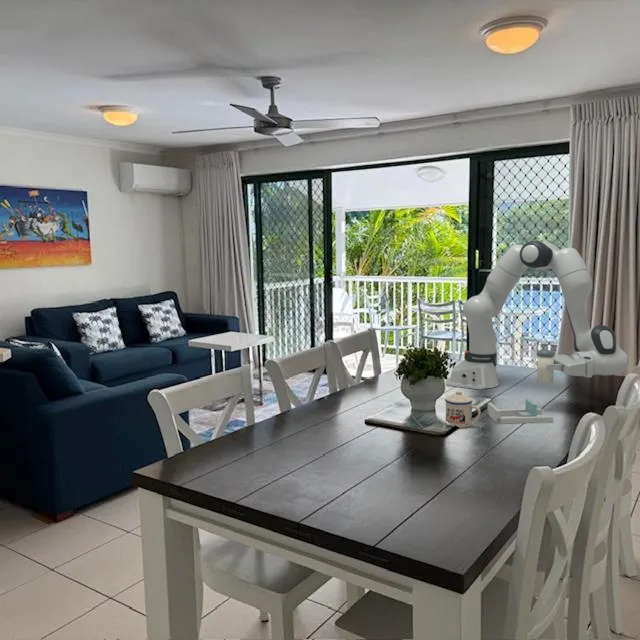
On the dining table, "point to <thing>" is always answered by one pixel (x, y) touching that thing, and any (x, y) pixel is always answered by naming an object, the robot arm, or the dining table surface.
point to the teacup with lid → (460, 410)
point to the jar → (542, 371)
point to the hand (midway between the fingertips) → (543, 364)
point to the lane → (497, 413)
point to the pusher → (529, 409)
